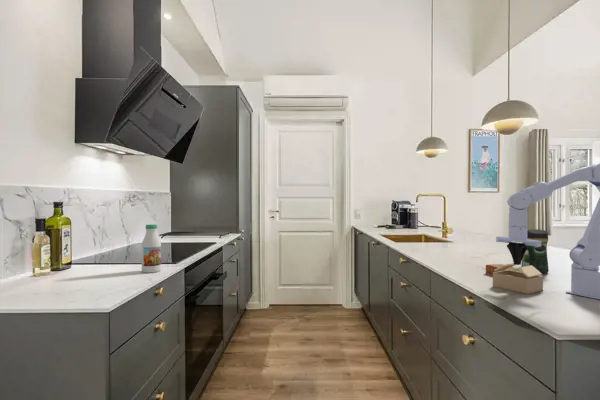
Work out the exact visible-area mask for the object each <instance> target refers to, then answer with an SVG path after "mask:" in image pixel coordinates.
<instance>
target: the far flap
mask: <svg viewBox="0 0 600 400" xmlns="http://www.w3.org/2000/svg"><path fill="white" fill-rule="evenodd" d="M515 266H516V265H515V264H514V262H512V263H507V264H503V265H502V266H500V267H499V268H497V269H495V270H494V271H499V270H504V269H509V268H511V267H515Z"/></svg>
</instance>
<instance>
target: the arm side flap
mask: <svg viewBox="0 0 600 400" xmlns="http://www.w3.org/2000/svg"><path fill="white" fill-rule="evenodd" d="M517 268H518V269H519V270H520V271H521V272H522V273H523V274H524V275H526V276H527V277H533V276H538V275H540V276H543V273H541V272H539V271H538V270H537V269H536V268H534V267H533V266H532V265H530V266H525V267H521V266H520V267H517Z"/></svg>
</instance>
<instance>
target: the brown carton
mask: <svg viewBox="0 0 600 400" xmlns="http://www.w3.org/2000/svg"><path fill="white" fill-rule="evenodd" d="M492 287H494V288H498V289H503V290H506V291H507V290H508V291H511V292H515V291H516V293H520V292H521V293H522V294H524V293H525V295H530V294H534V293H538V292H543V290H544V276H543V275H538V276H533V277H527V276H526V275H524V274H523V273H522V272H518V271H512V270H505V271H499V272H493V275H492Z"/></svg>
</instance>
